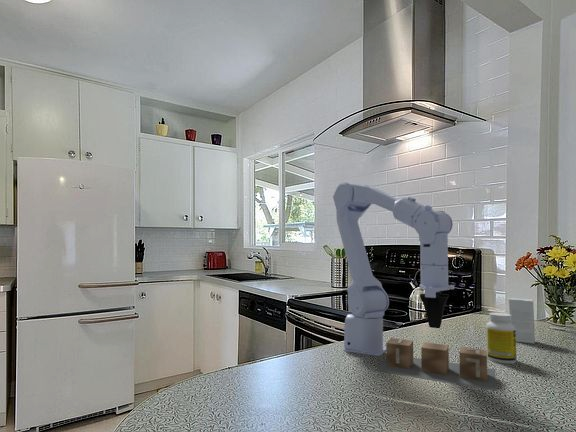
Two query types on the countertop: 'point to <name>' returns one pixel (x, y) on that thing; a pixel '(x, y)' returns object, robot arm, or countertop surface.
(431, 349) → the plain block
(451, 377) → the mat
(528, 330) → the skincare box
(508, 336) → the pill bottle
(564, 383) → the countertop surface
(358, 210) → the robot arm
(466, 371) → the digit block 7
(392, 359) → the digit block 1
